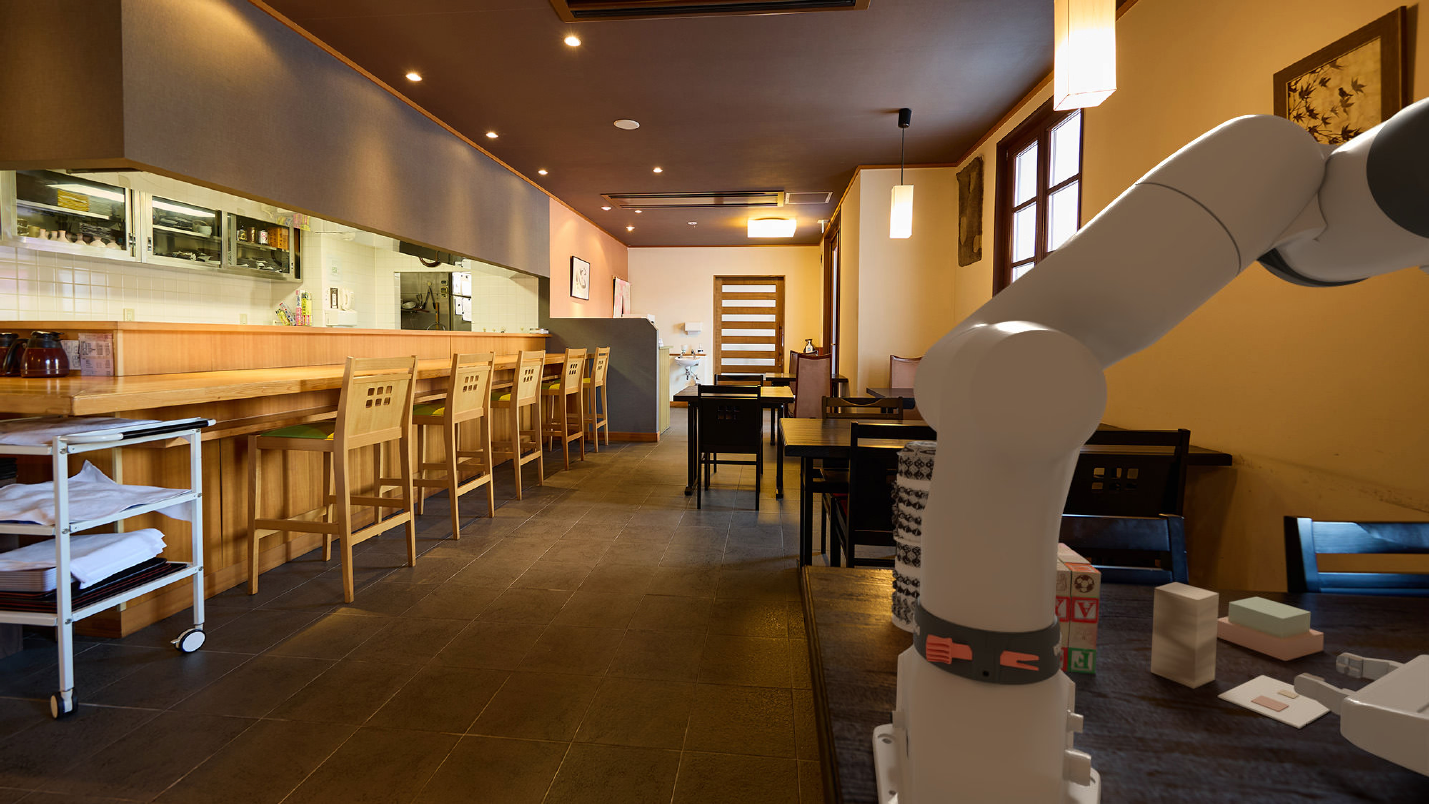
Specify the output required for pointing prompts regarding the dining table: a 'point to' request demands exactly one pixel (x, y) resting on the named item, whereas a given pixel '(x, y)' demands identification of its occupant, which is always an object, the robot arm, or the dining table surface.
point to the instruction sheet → (1275, 701)
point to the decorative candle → (910, 526)
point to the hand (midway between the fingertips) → (1318, 671)
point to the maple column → (1184, 634)
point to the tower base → (1271, 641)
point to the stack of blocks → (1077, 610)
